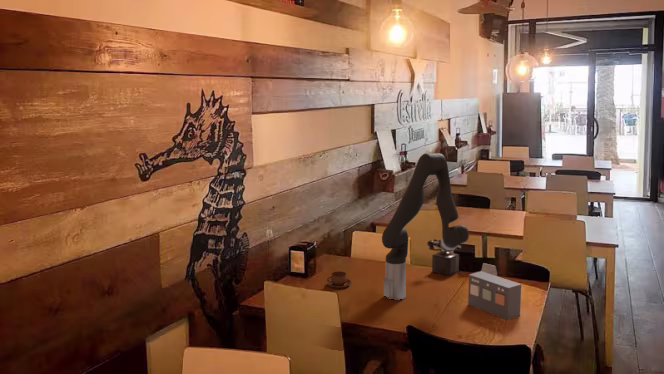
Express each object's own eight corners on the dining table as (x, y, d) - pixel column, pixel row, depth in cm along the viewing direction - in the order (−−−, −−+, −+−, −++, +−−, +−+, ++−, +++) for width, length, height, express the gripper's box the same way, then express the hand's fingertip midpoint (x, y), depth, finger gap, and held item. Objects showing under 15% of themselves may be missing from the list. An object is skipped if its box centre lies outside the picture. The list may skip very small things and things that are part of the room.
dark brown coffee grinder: (441, 267, 322) (441, 234, 319) (459, 271, 315) (460, 238, 312) (424, 274, 311) (425, 240, 308) (443, 278, 304) (443, 244, 301)
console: (467, 304, 268) (468, 274, 265) (480, 300, 273) (481, 271, 270) (507, 320, 250) (508, 288, 248) (520, 315, 255) (521, 284, 252)
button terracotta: (495, 302, 254) (495, 292, 253) (502, 300, 256) (502, 290, 256) (503, 305, 250) (503, 295, 249) (510, 303, 253) (510, 293, 252)
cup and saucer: (338, 291, 288) (337, 279, 287) (321, 285, 296) (321, 273, 295) (356, 285, 295) (355, 273, 294) (339, 280, 304) (339, 268, 303)
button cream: (470, 293, 265) (470, 284, 264) (477, 291, 268) (477, 282, 267) (477, 296, 262) (478, 286, 261) (484, 294, 264) (485, 284, 263)
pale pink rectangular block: (492, 286, 291) (493, 266, 289) (480, 283, 296) (481, 264, 294) (496, 284, 294) (497, 265, 292) (484, 281, 298) (484, 262, 296)
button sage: (482, 298, 260) (482, 288, 259) (489, 295, 262) (489, 286, 261) (490, 301, 256) (490, 291, 255) (497, 298, 258) (497, 289, 258)
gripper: (466, 235, 257) (460, 242, 274) (435, 230, 259) (431, 237, 275) (464, 252, 255) (457, 258, 272) (433, 247, 257) (428, 253, 274)
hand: (444, 247), depth 274 cm, fingers closed
